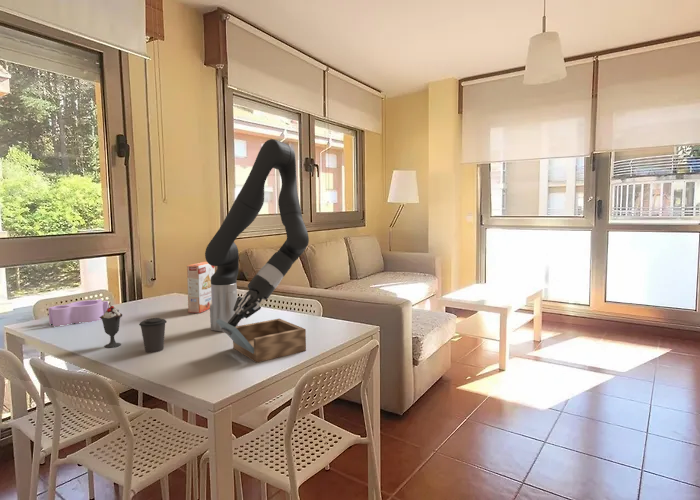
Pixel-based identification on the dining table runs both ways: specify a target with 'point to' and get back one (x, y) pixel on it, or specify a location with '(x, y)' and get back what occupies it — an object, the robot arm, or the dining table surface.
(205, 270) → the cracker box
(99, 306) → the purple double bowl
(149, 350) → the coffee cup
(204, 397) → the dining table surface
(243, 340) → the flat rectangular panel
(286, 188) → the robot arm
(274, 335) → the open wooden box
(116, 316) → the sundae
